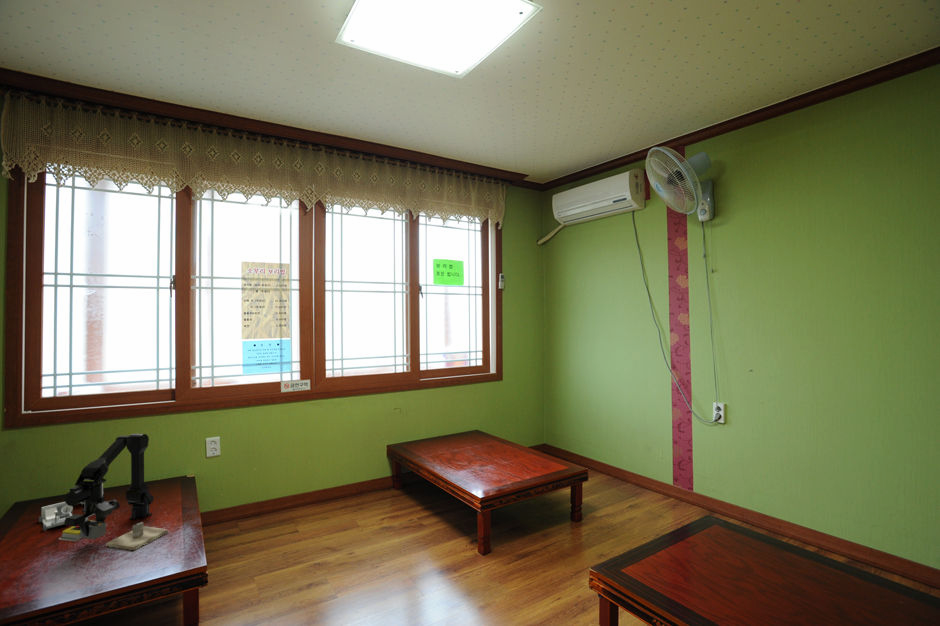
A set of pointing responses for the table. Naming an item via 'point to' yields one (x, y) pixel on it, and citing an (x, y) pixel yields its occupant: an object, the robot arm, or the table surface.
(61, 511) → the white mechanical fixture
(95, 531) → the grey open bin
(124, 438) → the robot arm
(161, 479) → the table surface
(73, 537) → the emergency button
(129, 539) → the switch plate
